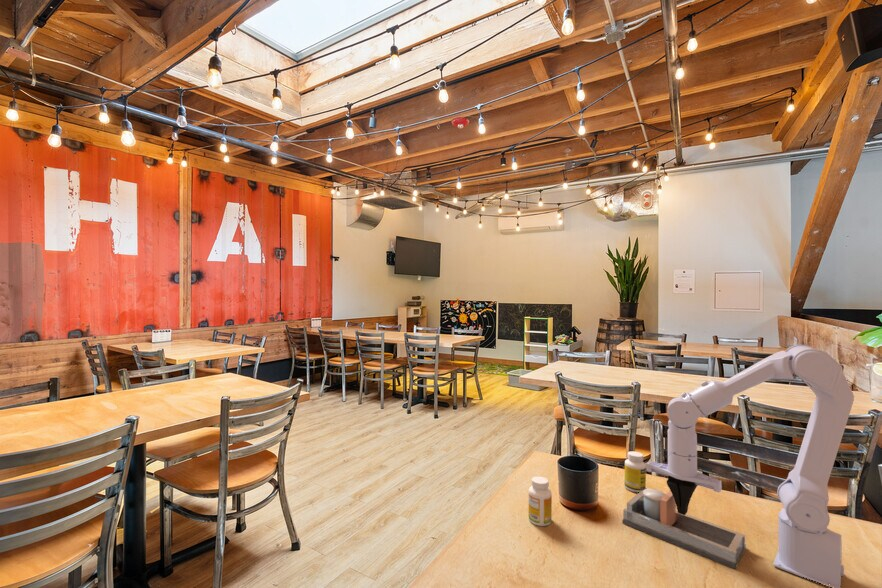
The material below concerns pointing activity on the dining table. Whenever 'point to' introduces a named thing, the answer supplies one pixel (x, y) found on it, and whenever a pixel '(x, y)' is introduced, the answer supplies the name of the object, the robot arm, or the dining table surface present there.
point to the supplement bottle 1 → (540, 502)
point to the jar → (652, 503)
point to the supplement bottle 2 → (635, 472)
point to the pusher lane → (689, 533)
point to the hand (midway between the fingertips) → (682, 512)
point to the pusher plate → (668, 509)
